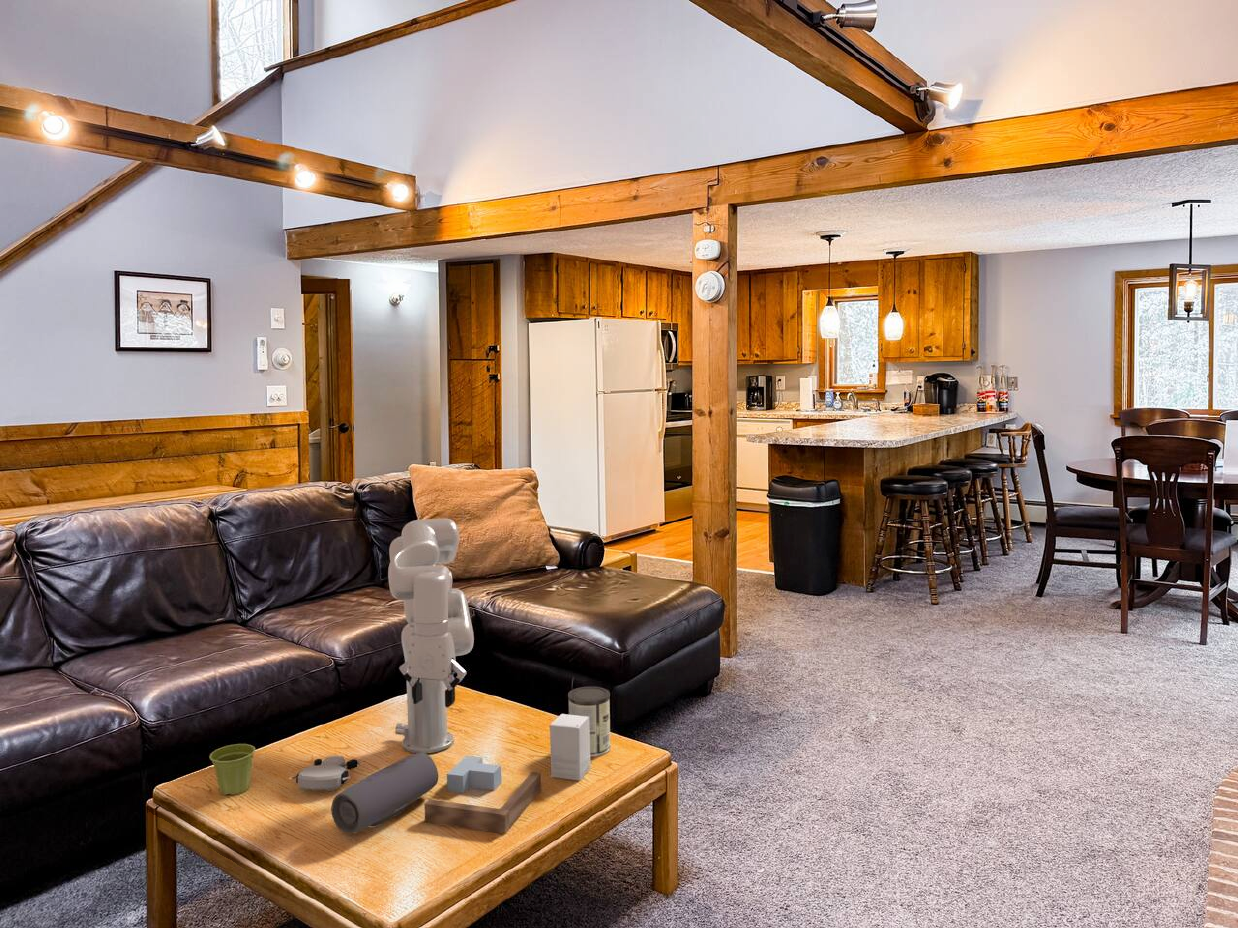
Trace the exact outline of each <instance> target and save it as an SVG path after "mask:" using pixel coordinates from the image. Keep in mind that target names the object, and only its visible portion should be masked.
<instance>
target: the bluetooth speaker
mask: <svg viewBox="0 0 1238 928" xmlns="http://www.w3.org/2000/svg"><path fill="white" fill-rule="evenodd" d="M438 781H439V772H438V767H437V765H436V763H435V761H434V759H433V758H432V756H430V754H428V753H413V754H411V755H409V756H406V757H404V758H402V759H400V760H397V761H395V762H393V763H391V764H389V765H387V766H385V767H382V768H381V769H379V770H377V771H375V772H373V773H371V774H370V775H368V776H366V777H364V778H362V779H361V780H359V781H356V782H355V783H354V784H352V785H350V786H348V787H346V788H345V789H343V790H342V791H341V792H339V793H338V794H336V795H335V796H334V798H333V800H332V803H331V809H330V811H331V816H332V819H333V822H334V824H335V826H336V827H337V828H338V829H339V830H340V831H342V832H343V833H346V834H348V835H353V834H355V833H358V832H360V831H363V830H364V829H367V828H369V827H372V828H374V827H378V826H380V825H382V824H384V823H386V822H388V821H390V820H391V819H393V818H394V817H397V816H398V815H400V814H402V813H403V812H404V811H406V810H407V809H408V808H409V805H410V804H412V803H414V802H415V801H417V800H418V799H420V798H421V797H423V796H424V795H425V794H427V793H429V791H431V790H432V789H433V788H435V786H436V785H437V783H438Z"/></svg>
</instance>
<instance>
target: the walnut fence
mask: <svg viewBox="0 0 1238 928" xmlns="http://www.w3.org/2000/svg"><path fill="white" fill-rule="evenodd" d="M541 791H542V772H538V771H532V772H530V774H529V775H528V776H527V777H526V779H524V781H523V782H522V783H521V784H520V785H519V787H518V788H516V790H515V791H514V792H513V793H512V794H511V796H510V797H509V798H508V799H507V800H506V801H505V803H504V804H503V805H502V806H501V807H500V808H495V807H487V806H482V805H481V806H480V805H473V804H465V803H459V802H452V801H443V800H438V799H428V800H426V802H425V803H424V823H428V824H429V823H430V824H436V825H442V826H451V827H456V828H463V829H470V830H475V831H476V830H477V831H484V832H491V833H498V834H507V833H508V831H509V830H510V829H511V828H512V827H513V825H514V824H515V823H516V822H517V820H518V819H519V818H520V817H521V815H522V814H523V813H524V812H525V810H526V809H527V808H528V807H529V806H530V805H531V804H532V802H533V800H534V799H535V798H536V797H537V796H538V794H540V792H541Z"/></svg>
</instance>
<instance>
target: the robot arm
mask: <svg viewBox="0 0 1238 928" xmlns="http://www.w3.org/2000/svg"><path fill="white" fill-rule="evenodd" d="M459 544H460V532H459V528H458V526H457V524H456V522H455V521H454V520H453V519H450V518H428V519H427V518H425V519H416V520H415V519H414V520H412V521H410V522H408V523H406V524H405V525H404V527H403V528H402V531H401V536H397V537H396V538H395V539H393V540H392V541H391V543H390V545H389V561H390V562H389V564H388V565H389V566H388V569H387V570H388V571H387V574H388V575H387V578H388V585H389V592H390V594H391V596H392V597H393V598H394V599H395V600H398V601H403V607H404V608H403V609H404V616H405V619H406V622H407V624H406V625H405V626H404V627H403V628H402V631H401V645H402V651H403V656H404V663H403V664H402V665H400V666H399V668H398V669H399V671H400V672H401V673H402V675H403V677H404V678H405V680H406V695H407V696H406V697H407V698H406V702H407V706H406V707H407V724H405V723H402V722H401V723H396V725H395V731H394V732H395V735H398V736H399V735H400V736H403V737H404V738H403V739H402V742H401V745H402V748H403V749H404V751H407V752H409V753H412V754H417V753H425V754H433V753H438V752H440V751H444V750H446V749H448V748H450V747H451V746H452V745H453V744H454V735H453V734H452V733H451V732H449V731H448V719H447V718H448V715H447V713H448V712H447V710H448V709H447V708H450V707H451V706H453V704H455V701H456V687H457V686H458V685H459V684H460V683H461V682H462V681H463V679H464V678H465V676H466V675H467V671H466V670H465V669H464V667H462V666H461V665H460V664H459V663H458V662H457V661H456V657H458V656H459V657H460V656H464V655H467V654H469V653H470V652H471V651H472V649H474V648H473V647H474V642H475V641H474V640H475V637H474V630H473V629H474V628H473V625H472V618H471V615H470V614H471V613H470V609H469V604H468V600H467V596H466V594H465V593H464V592H463V590H461V589H459V588H453V575H452V571H450V569H449V568H448V567H447V566H446V564H450V563H452V562H454V561H455V558H456V556H457V551H458V548H459ZM455 674H457V676H456V677H454V675H455Z"/></svg>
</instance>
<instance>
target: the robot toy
mask: <svg viewBox="0 0 1238 928" xmlns="http://www.w3.org/2000/svg"><path fill="white" fill-rule="evenodd" d="M361 764H362V760H361V759H355V758H353V759H351V760H348V761H346V759H345V757H344V756H338V755H332V756H331V755H330V756H326V757H325V758H324V759H322V758H317V759H314V761H313V765H310V766H307V767H304V768H303V769H302V770H301V771H299V772H298V773H297V774H296V775H295V776H291V777H289V780H293V779H295V783H296V784H297V786H298V787H299V788H301V789H304V790H307V791H321V790H322V791H323V790H327V791H336V790H338V789H339V788H341V786H342V785H344V784H345V783H346V782H347V781H348V780H350V779H351V776H350V772H349V770H355V769H356V768H358V766H359V765H361Z"/></svg>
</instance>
